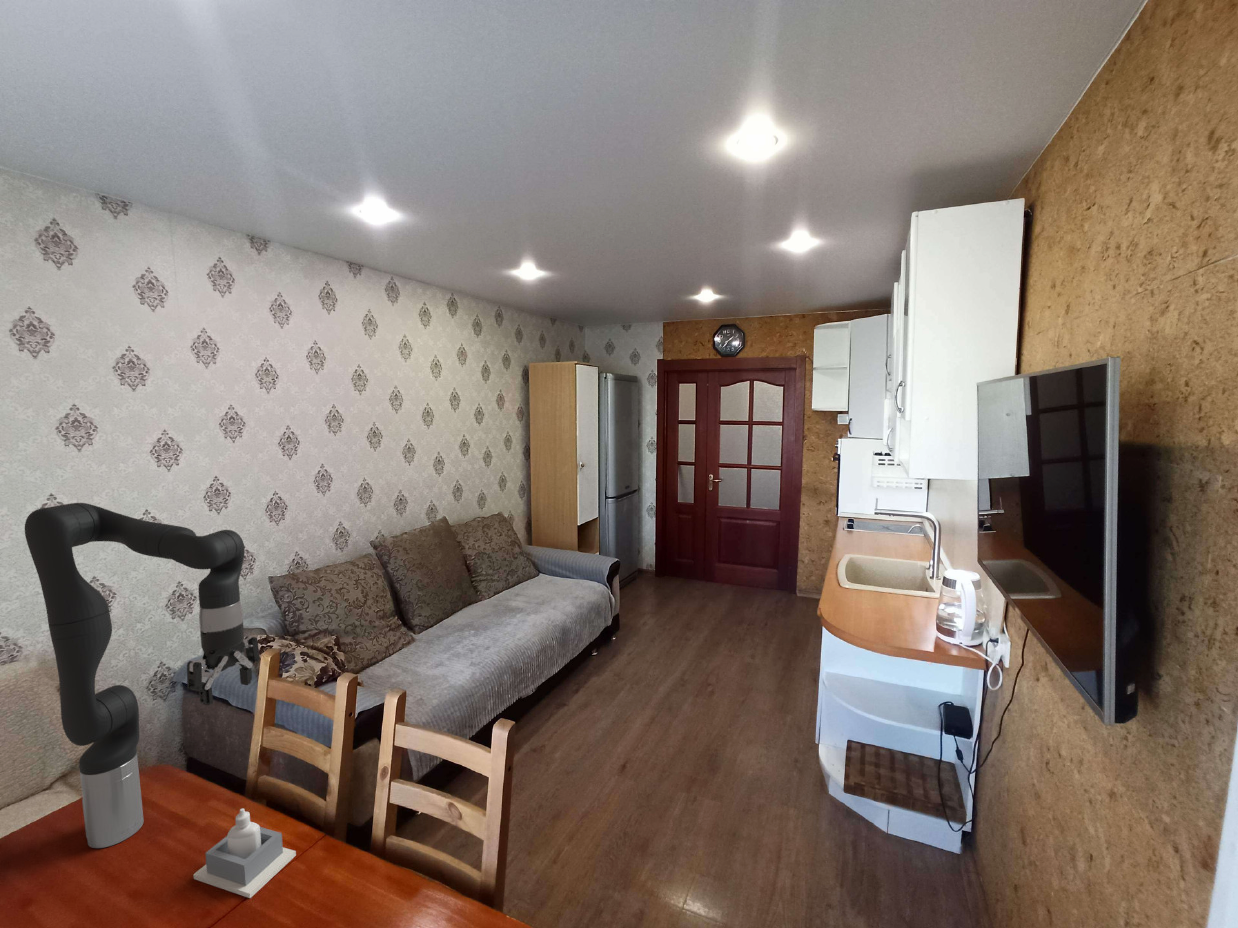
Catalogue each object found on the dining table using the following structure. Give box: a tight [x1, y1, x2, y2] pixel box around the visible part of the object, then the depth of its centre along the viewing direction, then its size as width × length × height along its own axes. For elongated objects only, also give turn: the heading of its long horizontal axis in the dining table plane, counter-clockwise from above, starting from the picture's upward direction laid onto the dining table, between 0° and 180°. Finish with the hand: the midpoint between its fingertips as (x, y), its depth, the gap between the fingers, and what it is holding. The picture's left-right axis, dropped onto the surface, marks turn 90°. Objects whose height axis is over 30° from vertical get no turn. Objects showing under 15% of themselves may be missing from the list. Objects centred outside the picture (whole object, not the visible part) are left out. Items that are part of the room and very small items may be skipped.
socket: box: [193, 826, 297, 899], centre depth 112 cm, size 15×10×6 cm
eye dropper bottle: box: [226, 808, 261, 859], centre depth 111 cm, size 4×6×12 cm
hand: (227, 693), depth 117 cm, fingers open, 8 cm apart
